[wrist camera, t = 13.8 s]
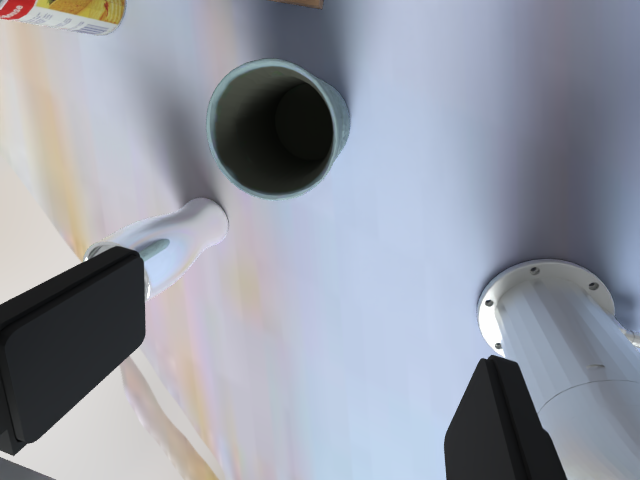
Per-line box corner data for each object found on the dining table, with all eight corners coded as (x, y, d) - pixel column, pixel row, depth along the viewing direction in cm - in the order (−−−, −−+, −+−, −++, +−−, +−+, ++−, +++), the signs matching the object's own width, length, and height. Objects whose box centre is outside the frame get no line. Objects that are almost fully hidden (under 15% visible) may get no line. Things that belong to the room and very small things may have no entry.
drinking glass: (247, 132, 40) (184, 148, 29) (298, 44, 35) (246, 23, 24) (322, 190, 40) (288, 227, 29) (381, 110, 36) (366, 118, 25)
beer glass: (190, 182, 43) (88, 223, 30) (240, 212, 43) (161, 267, 30) (173, 229, 46) (74, 286, 33) (220, 257, 46) (140, 326, 33)
